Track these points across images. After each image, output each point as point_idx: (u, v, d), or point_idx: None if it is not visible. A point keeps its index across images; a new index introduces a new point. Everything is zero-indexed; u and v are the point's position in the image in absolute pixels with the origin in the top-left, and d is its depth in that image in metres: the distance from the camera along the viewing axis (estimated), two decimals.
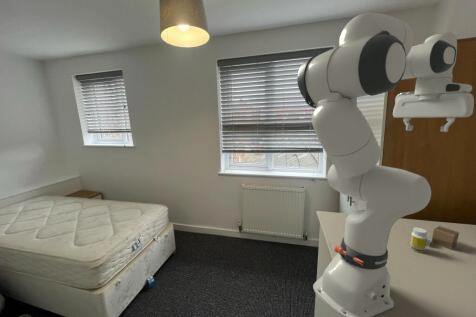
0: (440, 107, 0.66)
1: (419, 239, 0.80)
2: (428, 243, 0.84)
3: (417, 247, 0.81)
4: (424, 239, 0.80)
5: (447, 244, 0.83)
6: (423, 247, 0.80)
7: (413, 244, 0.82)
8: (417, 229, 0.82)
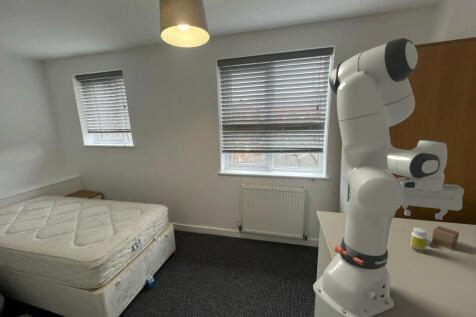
0: None
1: (419, 239, 0.80)
2: (428, 243, 0.84)
3: (417, 247, 0.81)
4: (424, 239, 0.80)
5: (447, 244, 0.83)
6: (423, 247, 0.80)
7: (413, 244, 0.82)
8: (417, 229, 0.82)
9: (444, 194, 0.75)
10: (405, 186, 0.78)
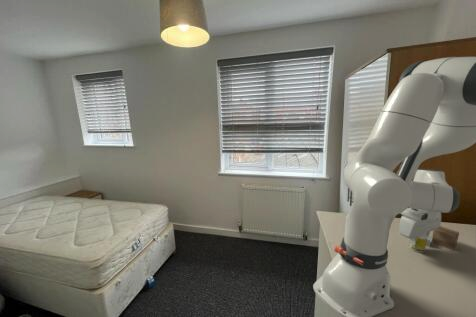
0: None
1: (419, 239, 0.80)
2: (428, 243, 0.84)
3: (417, 247, 0.81)
4: (424, 239, 0.79)
5: (447, 244, 0.83)
6: (423, 247, 0.80)
7: None
8: None
9: None
10: (421, 219, 0.74)
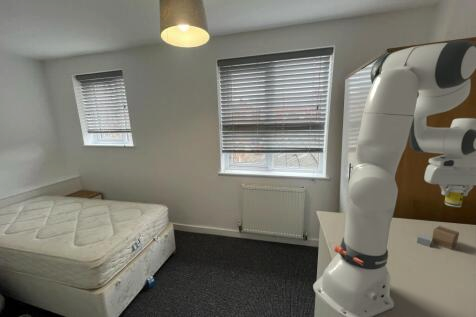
0: None
1: (451, 192, 0.81)
2: (428, 243, 0.84)
3: (449, 200, 0.82)
4: (457, 192, 0.80)
5: (447, 244, 0.83)
6: (456, 201, 0.80)
7: (446, 198, 0.83)
8: None
9: None
10: (444, 165, 0.78)
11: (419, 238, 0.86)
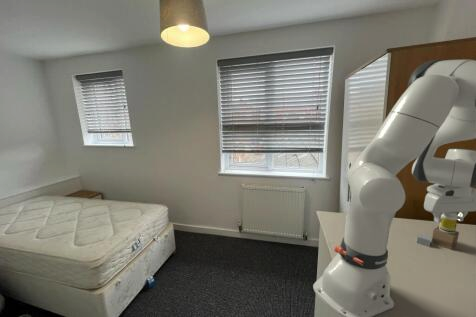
0: None
1: (447, 219, 0.83)
2: (428, 243, 0.84)
3: (445, 227, 0.83)
4: (453, 220, 0.82)
5: (447, 244, 0.83)
6: (452, 228, 0.82)
7: (441, 225, 0.84)
8: None
9: (469, 198, 0.81)
10: (446, 195, 0.78)
11: (419, 238, 0.86)
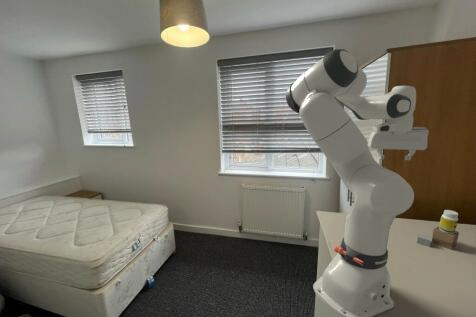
0: None
1: (446, 219, 0.83)
2: (428, 243, 0.84)
3: (443, 227, 0.84)
4: (452, 220, 0.81)
5: (447, 244, 0.83)
6: (450, 228, 0.82)
7: (441, 224, 0.85)
8: (448, 211, 0.83)
9: (413, 136, 0.84)
10: (381, 130, 0.85)
11: (419, 238, 0.86)
